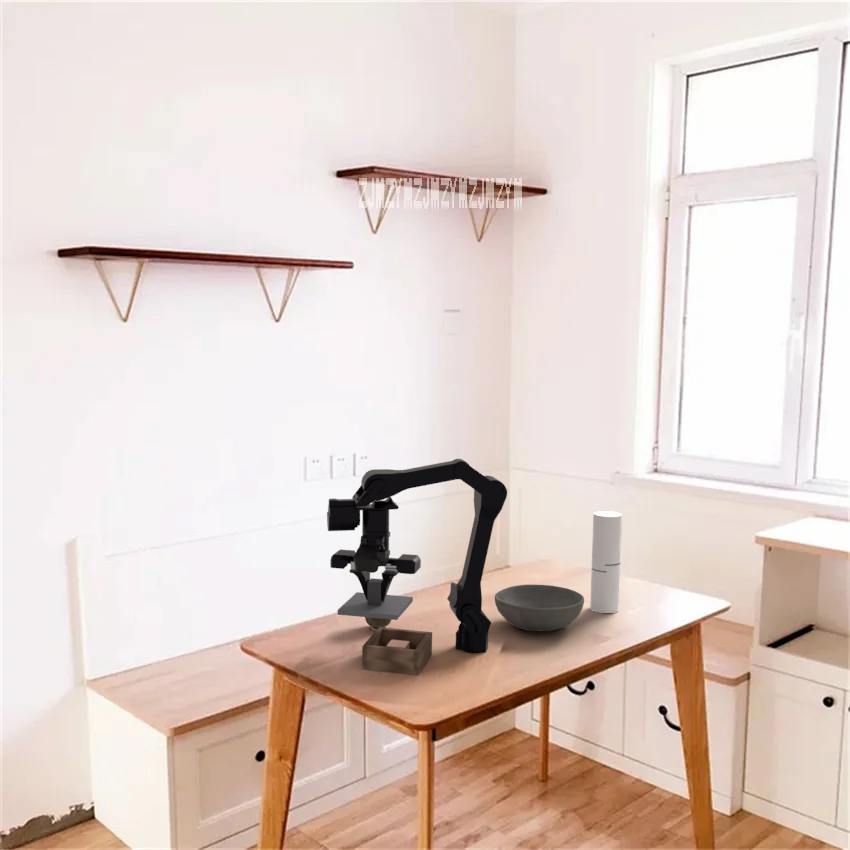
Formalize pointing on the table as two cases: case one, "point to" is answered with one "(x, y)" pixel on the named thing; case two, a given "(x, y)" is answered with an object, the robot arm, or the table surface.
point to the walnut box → (397, 651)
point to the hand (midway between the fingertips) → (375, 600)
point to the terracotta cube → (399, 644)
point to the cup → (377, 622)
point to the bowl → (539, 606)
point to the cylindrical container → (606, 561)
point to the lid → (375, 603)
